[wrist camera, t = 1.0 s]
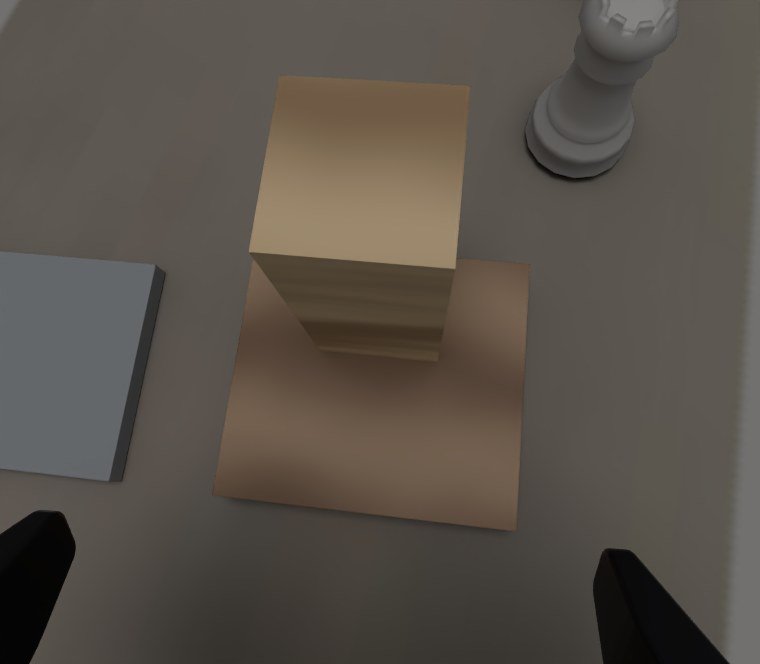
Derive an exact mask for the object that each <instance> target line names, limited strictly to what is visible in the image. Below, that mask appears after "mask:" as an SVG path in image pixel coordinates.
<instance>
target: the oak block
mask: <svg viewBox="0 0 760 664" xmlns="http://www.w3.org/2000/svg"><path fill="white" fill-rule="evenodd" d="M469 98H470V86H462V85H444V84H427V83H409V82H391V81H373V80H356V79H338V78H320V77H302V76H285V75H280V77H279V82H278V88H277V94H276V99H275V105H274V111H273V117H272V122H271V128H270V134H269V139H268V145H267V151H266V156H265V162H264V168H263V173H262V179H261V185H260V190H259V196H258V202H257V208H256V213H255V219H254V225H253V230H252V236H251V242H250V247H249V253H250V254H251V256H252V257H253V259H254V260H255V261H256V263H257V264H258V265H259V267H260V268H261V270H262V271H263V272H264V274H265V275H266V276H267V278H268V279H269V281H270V282H271V283H272V285H273V286H274V287H275V289H276V290H277V292H278V293H279V294H280V296H281V297H282V298H283V300H284V301H285V303H286V304H287V305H288V307H289V308H290V309H291V311H292V312H293V314H294V315H295V316H296V318H297V319H298V321H299V322H300V323H301V325H302V326H303V327H304V329H305V330H306V332H307V333H308V334H309V336H310V337H311V338H312V340H313V341H314V343H315V344H316V345H317V347H318V348H319V349H320V351H327V352H337V353H348V354H358V355H368V356H379V357H389V358H400V359H410V360H421V361H431V362H438V357H439V351H440V346H441V341H442V336H443V330H444V325H445V320H446V315H447V309H448V304H449V299H450V294H451V288H452V283H453V278H454V273H455V266H456V254H457V242H458V230H459V218H460V206H461V194H462V182H463V170H464V158H465V146H466V134H467V122H468V110H469Z"/></svg>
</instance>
